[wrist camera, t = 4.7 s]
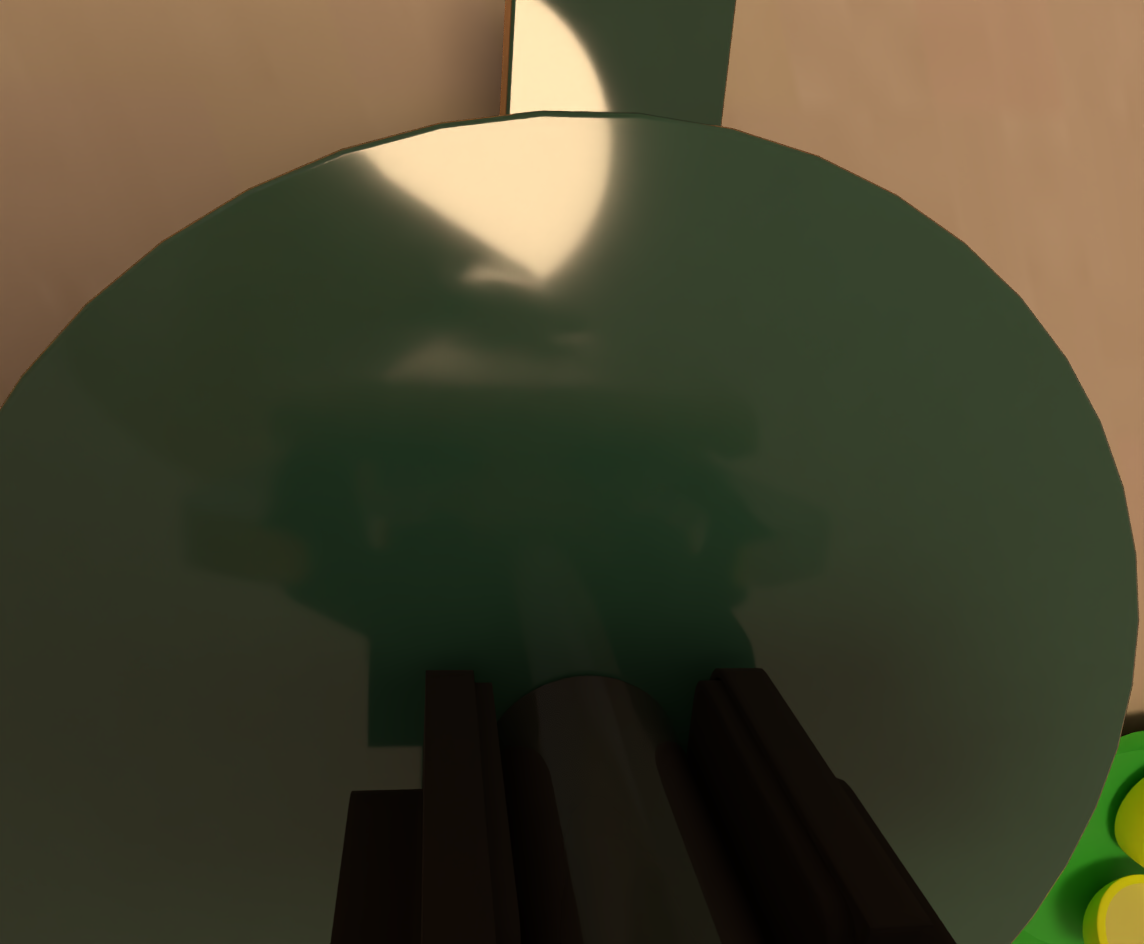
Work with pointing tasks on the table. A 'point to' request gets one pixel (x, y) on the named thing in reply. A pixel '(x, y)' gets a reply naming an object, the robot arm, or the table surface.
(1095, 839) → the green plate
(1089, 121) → the table surface
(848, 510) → the pot lid
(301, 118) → the table surface
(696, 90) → the pot
